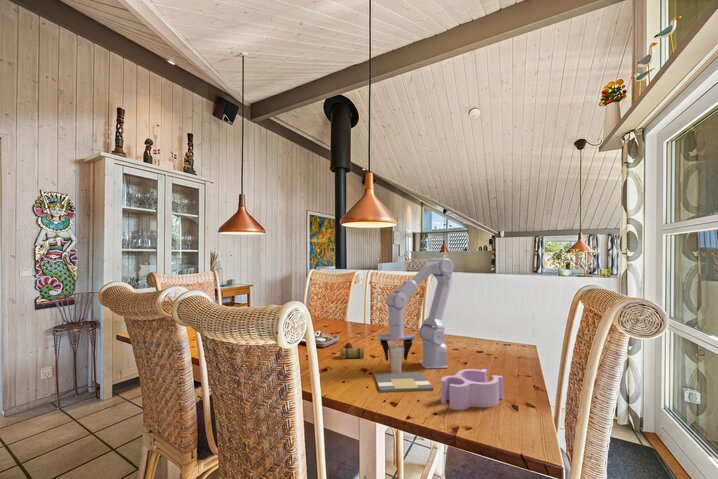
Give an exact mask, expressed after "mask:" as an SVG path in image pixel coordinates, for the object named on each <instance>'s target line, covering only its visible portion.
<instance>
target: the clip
mask: <svg viewBox="0 0 718 479" xmlns="http://www.w3.org/2000/svg"><path fill="white" fill-rule="evenodd" d="M487 372H488V370H487V369H486V368H482V369H476V368H465V369H461V370H458V371H457V372H456V374H454V375H445V376H443V377H441V379H440V393H441V394H440V395H441V396H440V398H441V399H440V403H441V404H442V405H444V404H447V402H448V401H449V409H450V410H455V411H465V410H468V409H469V408H472V407H473V408H474V407H475V408H493V407H496V406H498V405H499V402H500V400H504V376H502V375H496V374H495V375H493V374H492V375H491V381H488V375H487V374H488V373H487Z"/></svg>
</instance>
